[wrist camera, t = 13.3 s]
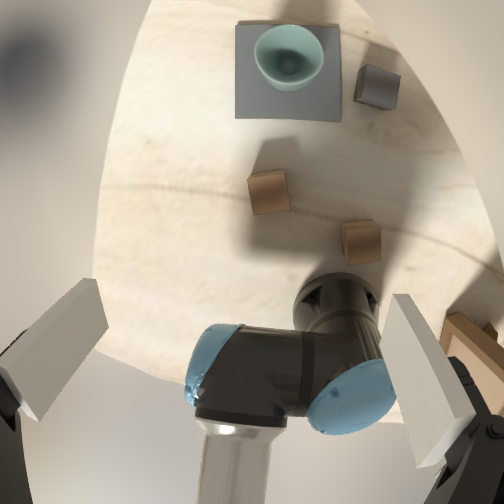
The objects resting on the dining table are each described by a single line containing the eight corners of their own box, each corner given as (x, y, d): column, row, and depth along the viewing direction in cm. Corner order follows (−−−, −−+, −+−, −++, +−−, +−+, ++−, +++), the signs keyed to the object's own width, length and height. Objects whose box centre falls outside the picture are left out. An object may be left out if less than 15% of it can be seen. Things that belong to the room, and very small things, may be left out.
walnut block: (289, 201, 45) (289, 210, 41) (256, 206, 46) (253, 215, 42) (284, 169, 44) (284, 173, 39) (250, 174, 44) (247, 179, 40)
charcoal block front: (384, 110, 38) (395, 108, 34) (353, 100, 38) (361, 97, 34) (389, 80, 36) (400, 76, 32) (358, 71, 37) (366, 64, 32)
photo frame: (423, 388, 58) (455, 471, 35) (443, 314, 50) (501, 404, 27) (471, 374, 56) (509, 447, 33) (495, 302, 48) (557, 375, 25)
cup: (299, 38, 35) (303, 14, 25) (325, 83, 37) (336, 69, 28) (251, 59, 37) (241, 40, 27) (276, 104, 39) (274, 95, 30)
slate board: (339, 122, 40) (340, 121, 39) (236, 118, 41) (235, 118, 40) (337, 30, 34) (338, 28, 33) (236, 27, 36) (235, 25, 35)
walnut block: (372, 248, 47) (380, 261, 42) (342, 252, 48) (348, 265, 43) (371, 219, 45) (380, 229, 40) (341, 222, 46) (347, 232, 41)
